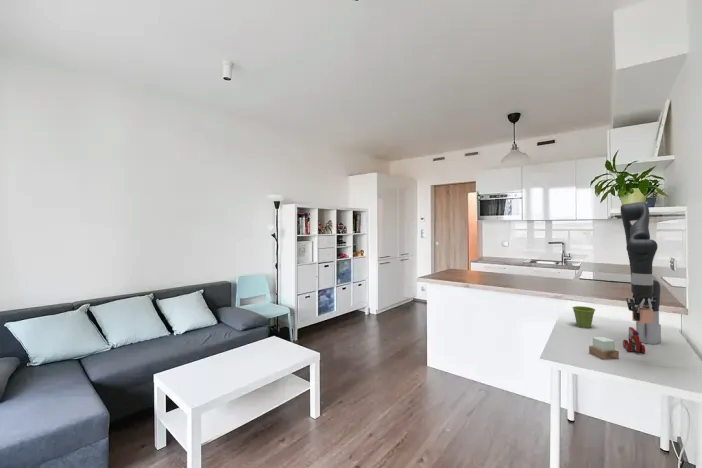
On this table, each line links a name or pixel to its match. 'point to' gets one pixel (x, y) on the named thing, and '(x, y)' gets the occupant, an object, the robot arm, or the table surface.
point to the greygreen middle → (603, 343)
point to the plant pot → (583, 316)
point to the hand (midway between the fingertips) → (642, 319)
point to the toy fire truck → (633, 342)
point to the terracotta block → (645, 315)
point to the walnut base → (604, 353)
